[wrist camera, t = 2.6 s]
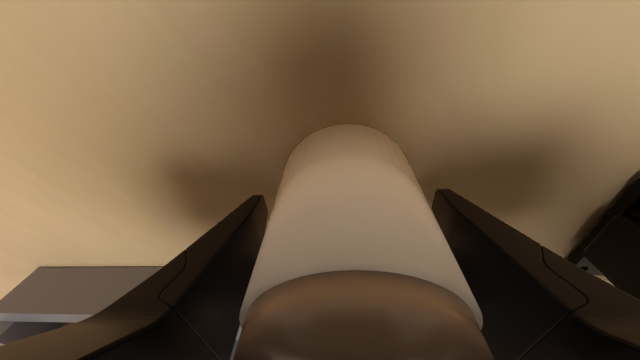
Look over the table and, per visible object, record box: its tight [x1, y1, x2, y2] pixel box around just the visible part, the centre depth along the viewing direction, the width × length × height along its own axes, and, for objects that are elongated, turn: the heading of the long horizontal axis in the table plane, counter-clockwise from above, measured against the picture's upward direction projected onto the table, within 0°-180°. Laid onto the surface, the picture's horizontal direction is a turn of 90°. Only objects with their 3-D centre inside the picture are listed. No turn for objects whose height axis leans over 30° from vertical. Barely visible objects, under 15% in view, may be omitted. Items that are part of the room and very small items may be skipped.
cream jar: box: [234, 124, 494, 360], centre depth 8 cm, size 6×6×7 cm
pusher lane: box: [0, 267, 242, 360], centre depth 16 cm, size 24×10×4 cm, turn 95°
